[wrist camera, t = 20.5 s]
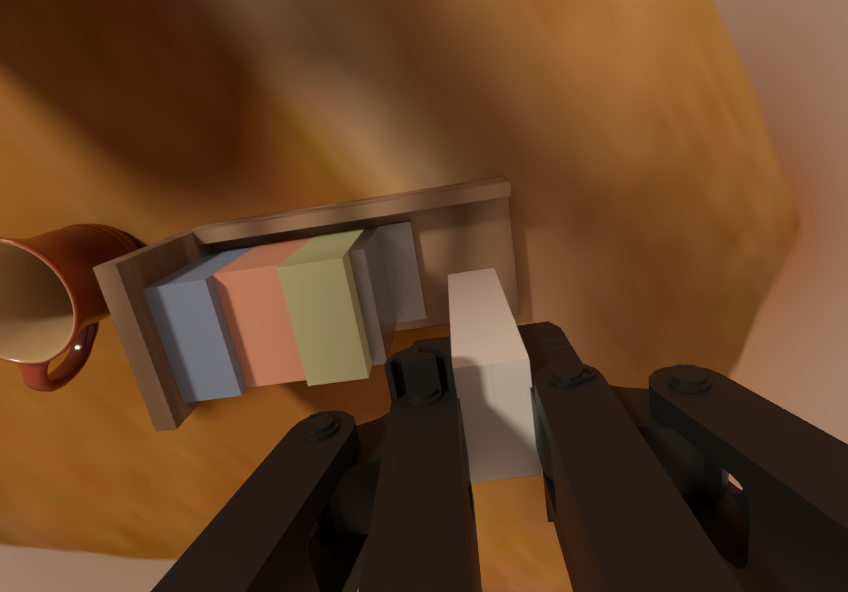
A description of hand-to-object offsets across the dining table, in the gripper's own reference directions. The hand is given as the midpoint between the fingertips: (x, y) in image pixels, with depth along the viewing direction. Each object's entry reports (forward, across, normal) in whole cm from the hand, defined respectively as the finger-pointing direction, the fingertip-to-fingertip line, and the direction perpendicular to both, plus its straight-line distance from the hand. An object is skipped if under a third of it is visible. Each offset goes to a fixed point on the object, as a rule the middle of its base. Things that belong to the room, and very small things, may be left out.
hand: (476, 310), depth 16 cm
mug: (+25, -30, -2) cm, 39 cm away
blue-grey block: (+23, -18, -4) cm, 29 cm away
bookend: (+23, -5, -4) cm, 24 cm away
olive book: (+23, -9, -4) cm, 25 cm away
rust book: (+23, -13, -4) cm, 27 cm away
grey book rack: (+24, -8, -4) cm, 26 cm away
